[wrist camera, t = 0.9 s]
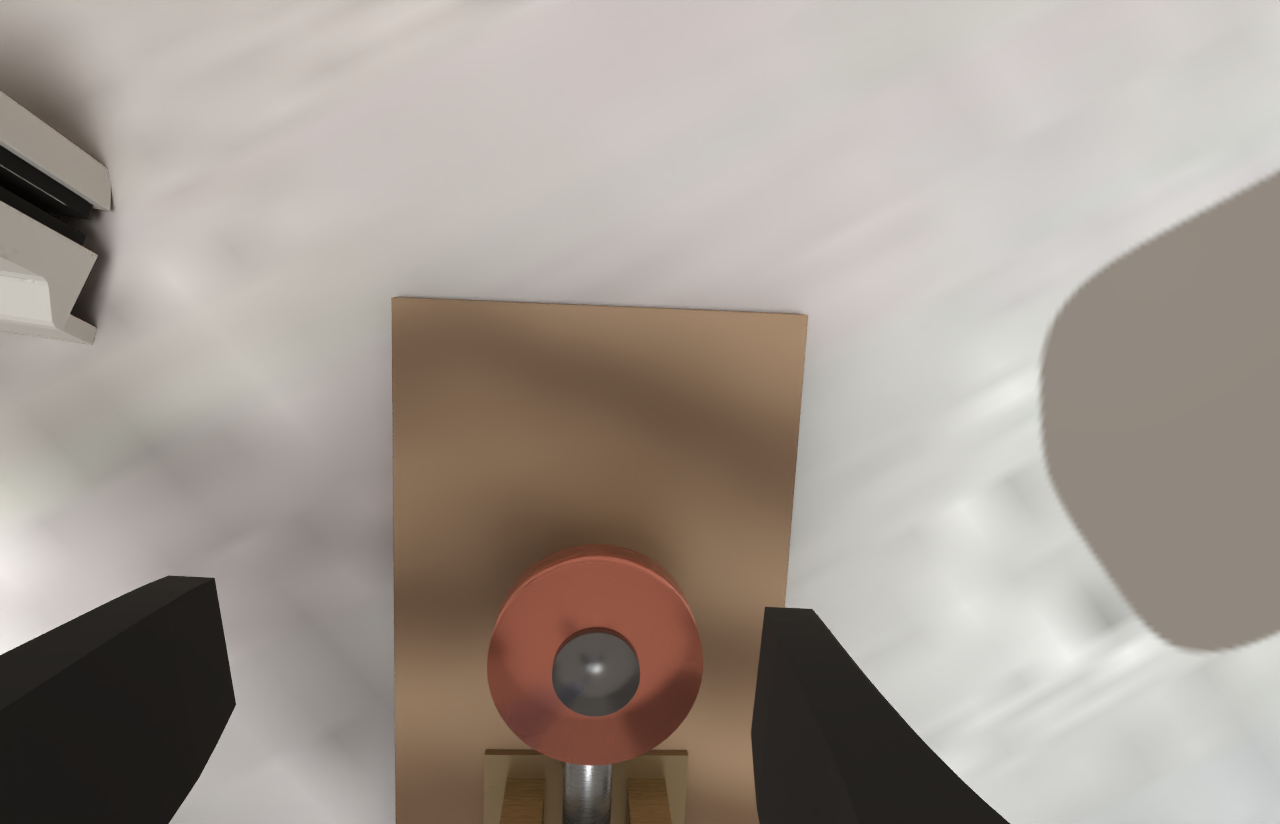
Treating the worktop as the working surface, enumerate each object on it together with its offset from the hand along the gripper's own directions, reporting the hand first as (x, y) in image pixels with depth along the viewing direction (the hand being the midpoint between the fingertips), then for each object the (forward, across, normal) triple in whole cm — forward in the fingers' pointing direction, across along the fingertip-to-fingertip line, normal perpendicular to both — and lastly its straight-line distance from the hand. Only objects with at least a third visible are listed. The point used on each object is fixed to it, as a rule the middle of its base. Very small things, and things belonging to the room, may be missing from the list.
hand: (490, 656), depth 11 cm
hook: (+11, -1, +11) cm, 15 cm away
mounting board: (+13, 0, +9) cm, 16 cm away
